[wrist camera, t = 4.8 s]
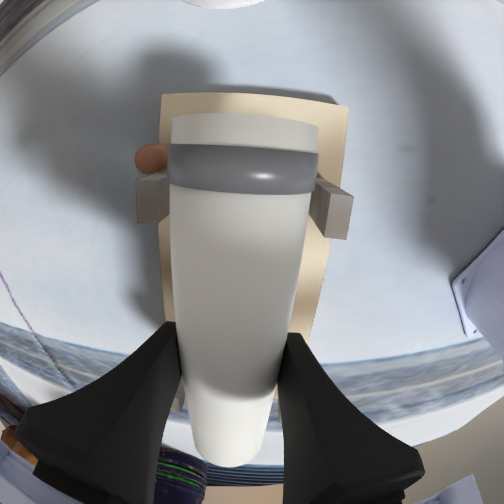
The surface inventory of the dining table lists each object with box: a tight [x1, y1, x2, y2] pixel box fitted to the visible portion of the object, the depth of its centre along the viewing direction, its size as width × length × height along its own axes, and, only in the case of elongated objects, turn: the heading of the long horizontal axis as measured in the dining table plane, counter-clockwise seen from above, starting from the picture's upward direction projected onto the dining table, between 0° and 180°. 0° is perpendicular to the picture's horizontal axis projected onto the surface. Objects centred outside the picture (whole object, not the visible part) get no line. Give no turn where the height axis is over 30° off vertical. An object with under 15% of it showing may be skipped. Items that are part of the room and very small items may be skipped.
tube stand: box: [135, 92, 354, 422], centre depth 13 cm, size 20×9×6 cm, turn 175°
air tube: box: [167, 113, 319, 467], centre depth 10 cm, size 16×4×4 cm, turn 175°
